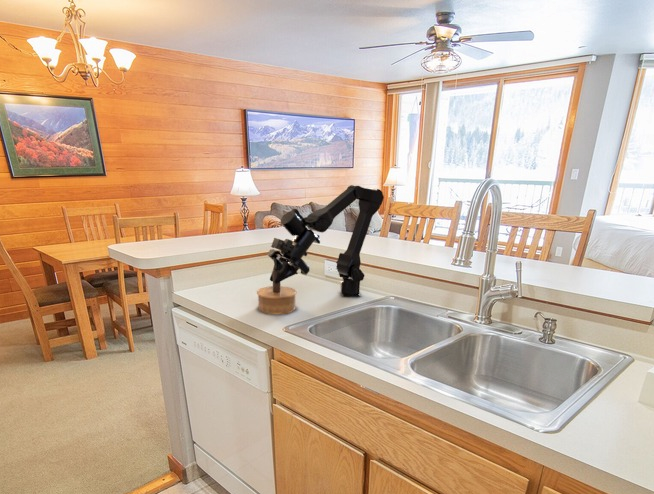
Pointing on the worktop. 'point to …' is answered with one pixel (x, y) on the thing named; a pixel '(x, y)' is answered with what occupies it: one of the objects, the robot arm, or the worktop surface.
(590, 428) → the worktop surface
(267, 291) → the lid
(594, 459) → the worktop surface
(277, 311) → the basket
